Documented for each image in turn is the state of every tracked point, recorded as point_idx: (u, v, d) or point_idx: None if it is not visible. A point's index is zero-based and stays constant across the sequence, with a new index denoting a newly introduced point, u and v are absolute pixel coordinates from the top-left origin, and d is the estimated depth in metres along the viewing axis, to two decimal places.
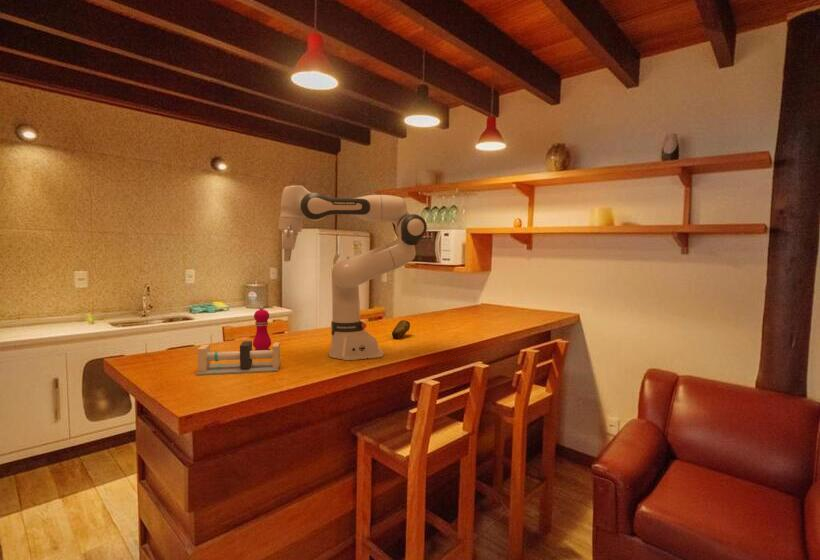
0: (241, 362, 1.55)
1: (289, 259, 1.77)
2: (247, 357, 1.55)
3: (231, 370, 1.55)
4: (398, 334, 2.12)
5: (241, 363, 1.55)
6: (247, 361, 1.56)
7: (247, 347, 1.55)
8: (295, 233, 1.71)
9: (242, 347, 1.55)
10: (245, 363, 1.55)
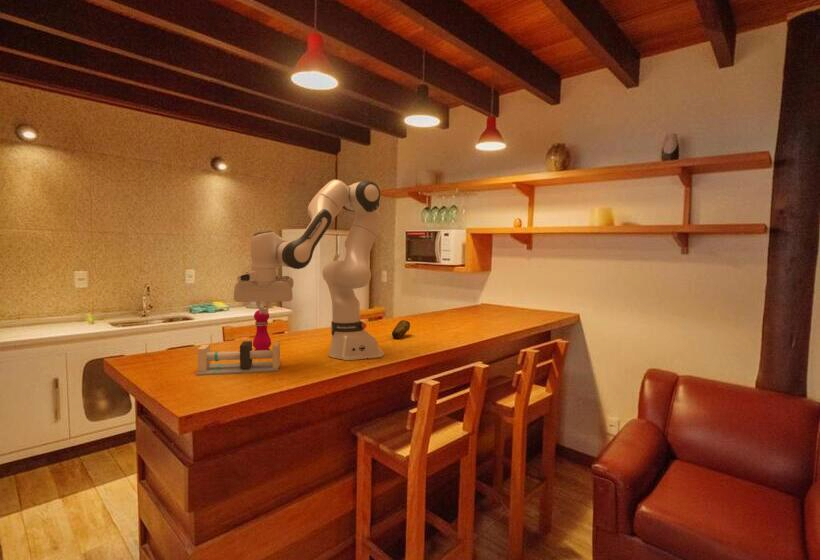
0: (241, 362, 1.55)
1: None
2: (247, 357, 1.55)
3: (231, 370, 1.55)
4: (398, 334, 2.12)
5: (241, 363, 1.55)
6: (247, 361, 1.56)
7: (247, 347, 1.55)
8: None
9: (242, 347, 1.55)
10: (245, 363, 1.55)
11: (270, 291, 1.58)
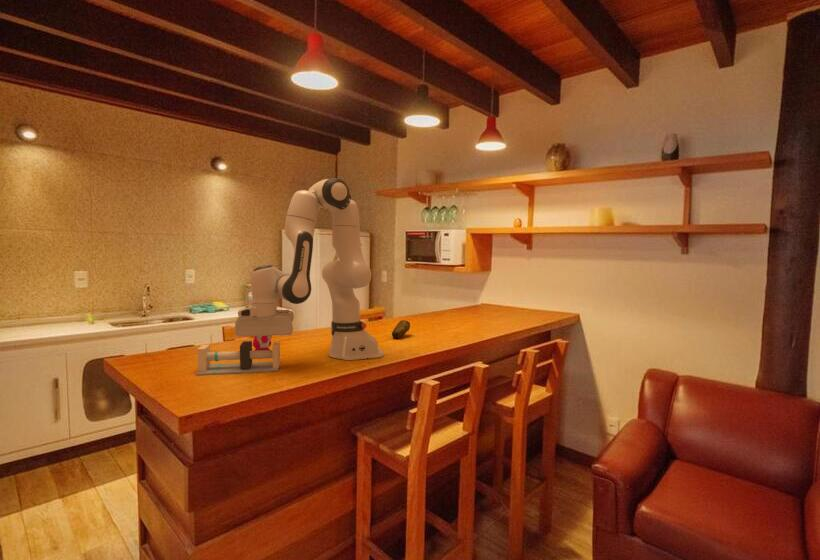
0: (241, 362, 1.55)
1: None
2: (247, 357, 1.55)
3: (231, 370, 1.55)
4: (398, 334, 2.12)
5: (241, 363, 1.55)
6: (247, 361, 1.56)
7: (247, 347, 1.55)
8: None
9: (242, 347, 1.55)
10: (245, 363, 1.55)
11: (270, 325, 1.59)
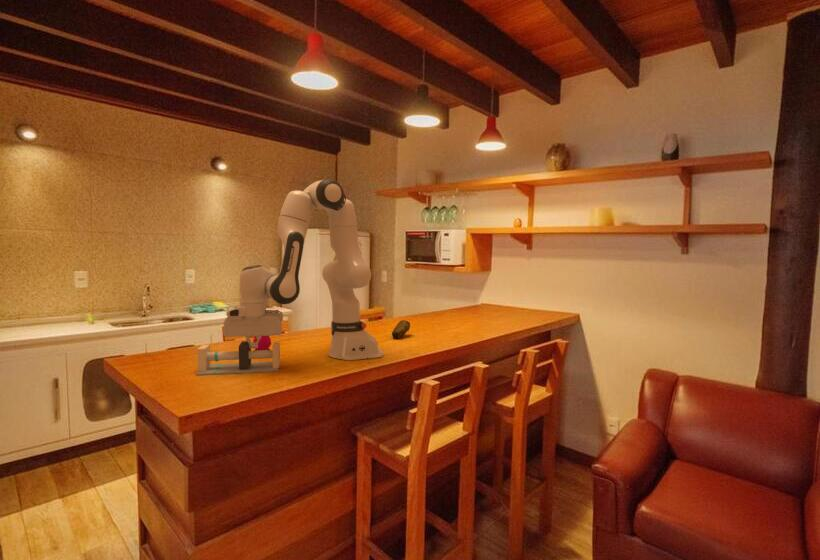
0: (240, 362, 1.55)
1: None
2: (246, 357, 1.55)
3: (231, 370, 1.55)
4: (398, 334, 2.12)
5: (240, 363, 1.55)
6: (246, 361, 1.55)
7: (246, 347, 1.55)
8: None
9: (241, 347, 1.55)
10: (244, 363, 1.55)
11: (259, 325, 1.58)
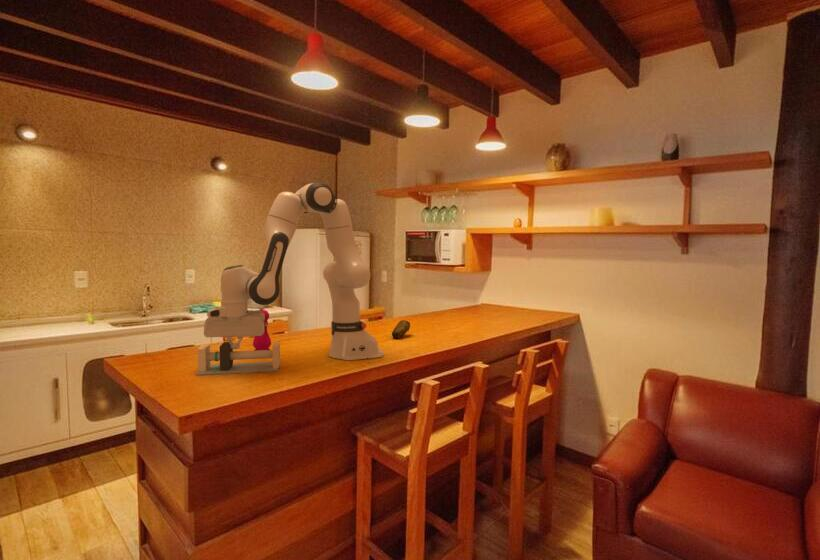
0: (221, 363, 1.54)
1: None
2: (227, 358, 1.54)
3: (231, 370, 1.55)
4: (398, 334, 2.12)
5: (221, 364, 1.54)
6: (227, 362, 1.54)
7: (227, 348, 1.54)
8: None
9: (222, 348, 1.53)
10: (225, 364, 1.54)
11: (241, 326, 1.56)
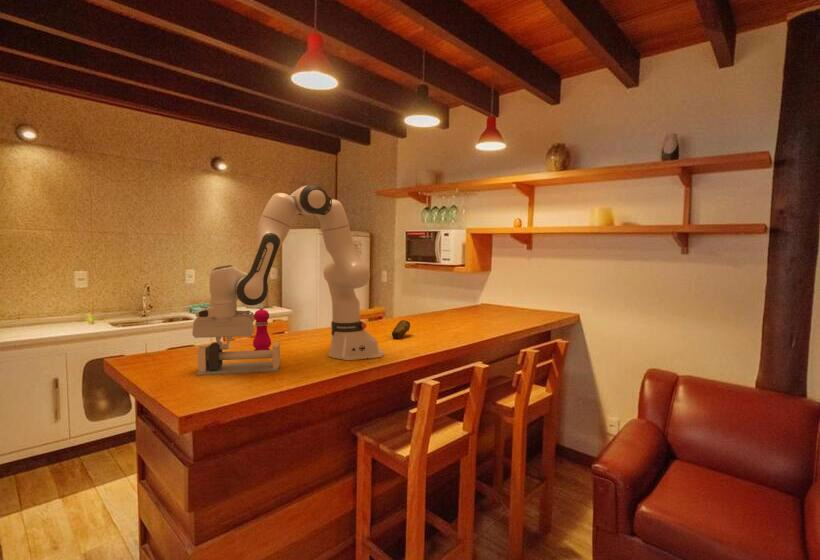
0: (209, 363, 1.53)
1: None
2: (216, 358, 1.53)
3: (231, 370, 1.55)
4: (398, 334, 2.12)
5: (209, 364, 1.53)
6: (216, 362, 1.53)
7: (216, 348, 1.53)
8: None
9: (210, 348, 1.53)
10: (213, 364, 1.53)
11: (230, 326, 1.56)
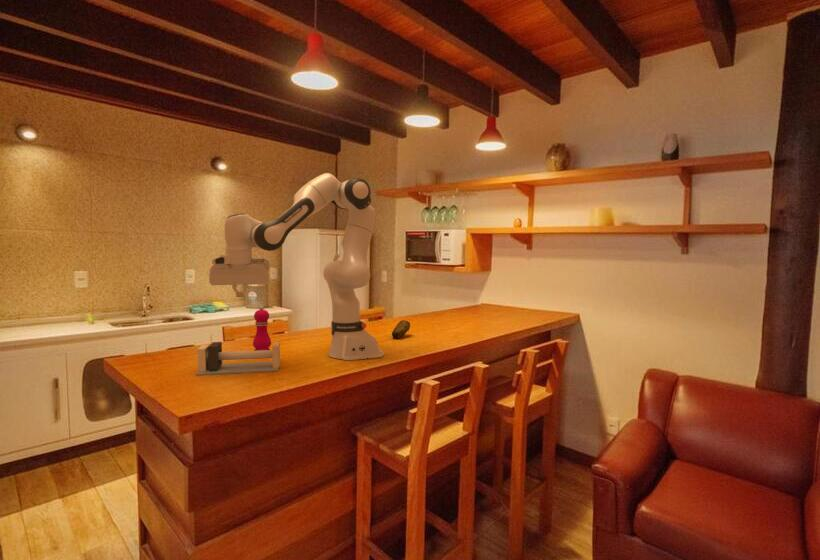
0: (209, 363, 1.53)
1: None
2: (215, 358, 1.53)
3: (231, 370, 1.55)
4: (398, 334, 2.12)
5: (209, 364, 1.53)
6: (215, 362, 1.53)
7: (215, 348, 1.53)
8: None
9: (210, 348, 1.53)
10: (213, 364, 1.53)
11: (246, 274, 1.57)
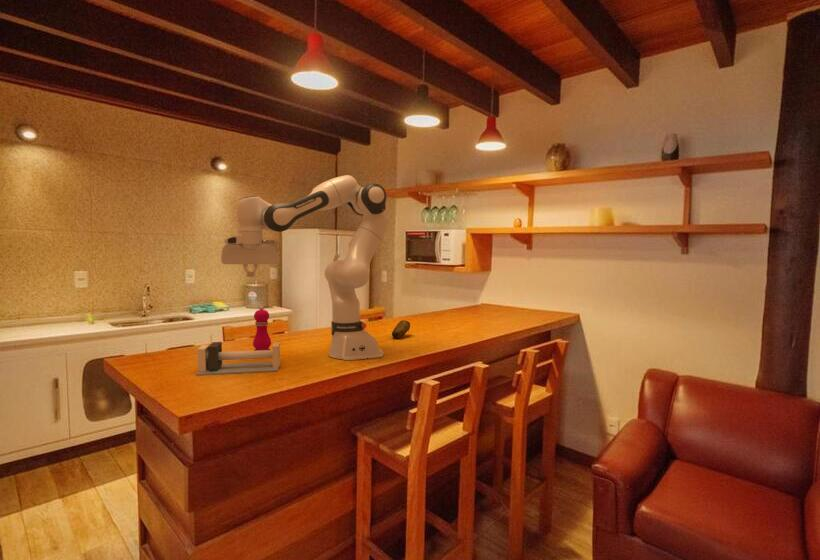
0: (209, 363, 1.53)
1: None
2: (215, 358, 1.53)
3: (231, 370, 1.55)
4: (398, 334, 2.12)
5: (209, 364, 1.53)
6: (215, 362, 1.53)
7: (215, 348, 1.53)
8: None
9: (210, 348, 1.53)
10: (213, 364, 1.53)
11: (256, 254, 1.63)
